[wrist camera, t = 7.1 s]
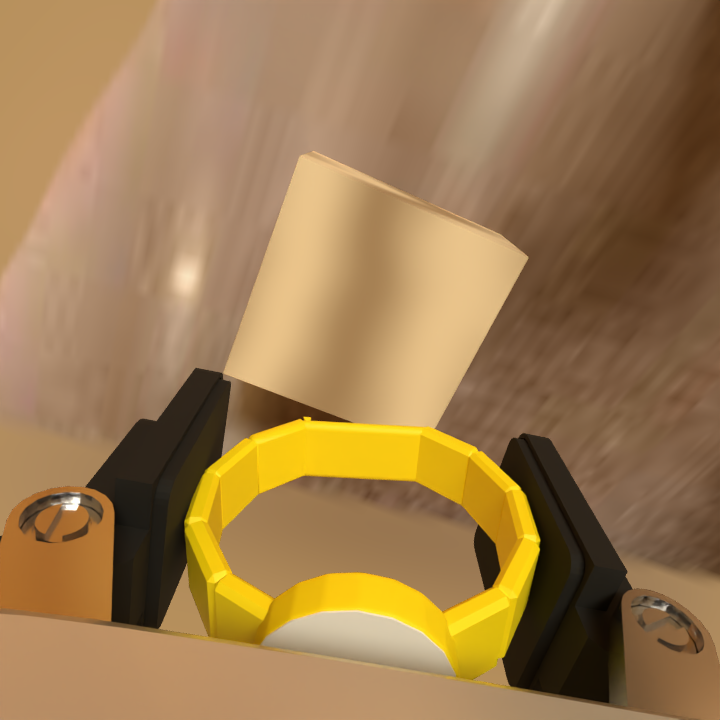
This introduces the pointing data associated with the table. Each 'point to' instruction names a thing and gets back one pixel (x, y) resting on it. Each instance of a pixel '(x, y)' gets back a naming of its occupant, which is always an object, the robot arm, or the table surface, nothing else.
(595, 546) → the robot arm
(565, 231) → the table surface
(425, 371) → the wood block
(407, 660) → the watch
